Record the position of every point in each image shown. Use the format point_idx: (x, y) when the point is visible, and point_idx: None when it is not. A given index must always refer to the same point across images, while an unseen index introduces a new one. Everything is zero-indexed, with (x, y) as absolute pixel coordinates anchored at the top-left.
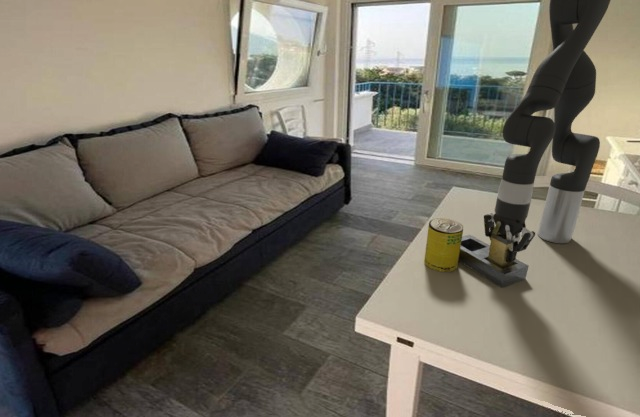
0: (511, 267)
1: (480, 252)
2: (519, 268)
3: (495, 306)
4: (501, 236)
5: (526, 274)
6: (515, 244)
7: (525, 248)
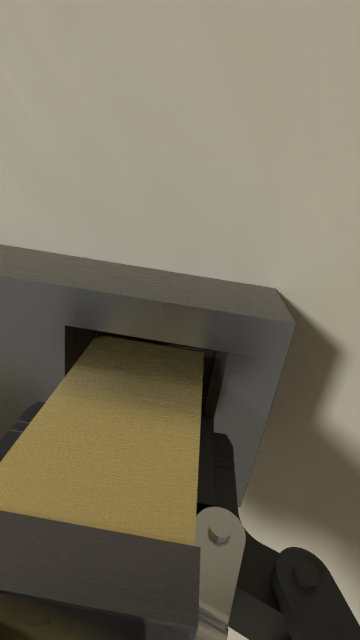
0: (227, 425)
1: (3, 407)
2: (267, 403)
3: (281, 545)
4: None
5: (280, 297)
6: (202, 567)
7: (333, 598)
